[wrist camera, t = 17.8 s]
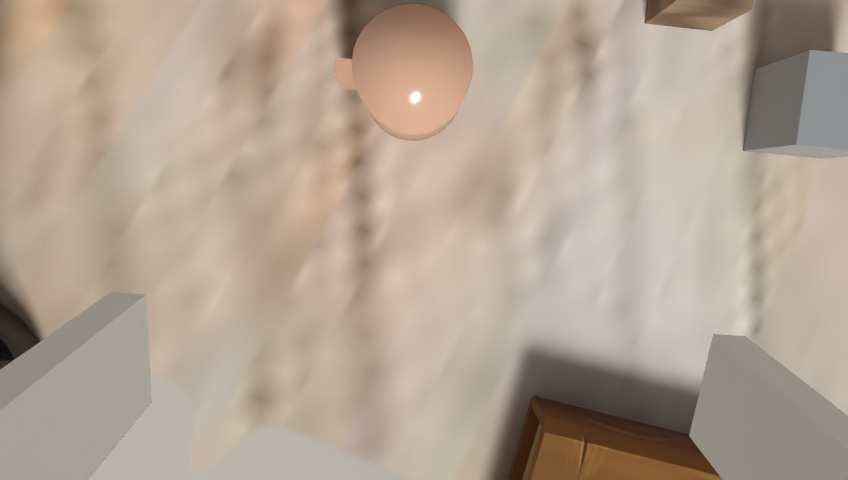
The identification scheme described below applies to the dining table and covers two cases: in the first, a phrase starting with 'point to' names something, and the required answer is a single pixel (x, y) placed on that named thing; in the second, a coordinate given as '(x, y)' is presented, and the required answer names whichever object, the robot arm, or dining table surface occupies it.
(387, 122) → the peach rounded cylinder
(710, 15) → the walnut cube
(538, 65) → the dining table surface
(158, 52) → the dining table surface
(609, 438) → the diary
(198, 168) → the dining table surface
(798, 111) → the blue grey box
